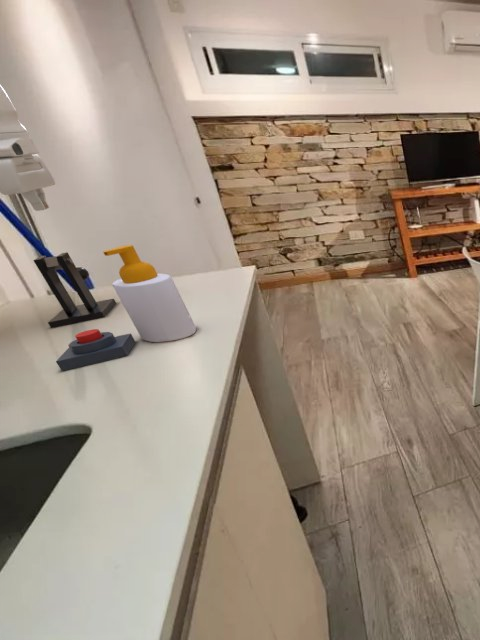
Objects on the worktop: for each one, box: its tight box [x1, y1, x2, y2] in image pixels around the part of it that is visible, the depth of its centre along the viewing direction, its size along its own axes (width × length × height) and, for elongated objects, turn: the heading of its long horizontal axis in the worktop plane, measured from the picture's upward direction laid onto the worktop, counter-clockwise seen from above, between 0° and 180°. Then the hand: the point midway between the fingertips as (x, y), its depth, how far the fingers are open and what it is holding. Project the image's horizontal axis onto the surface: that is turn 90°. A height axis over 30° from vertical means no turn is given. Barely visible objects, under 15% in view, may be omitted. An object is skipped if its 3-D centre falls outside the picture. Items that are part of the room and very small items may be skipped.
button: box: [74, 328, 103, 344], centre depth 97 cm, size 4×4×2 cm
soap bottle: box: [102, 244, 197, 343], centre depth 103 cm, size 13×8×20 cm, turn 73°
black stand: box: [33, 251, 117, 329], centre depth 119 cm, size 12×10×16 cm
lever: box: [44, 255, 90, 281], centre depth 122 cm, size 14×4×4 cm, turn 30°
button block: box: [55, 331, 136, 372], centre depth 98 cm, size 10×8×4 cm
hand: (42, 209), depth 113 cm, fingers closed
